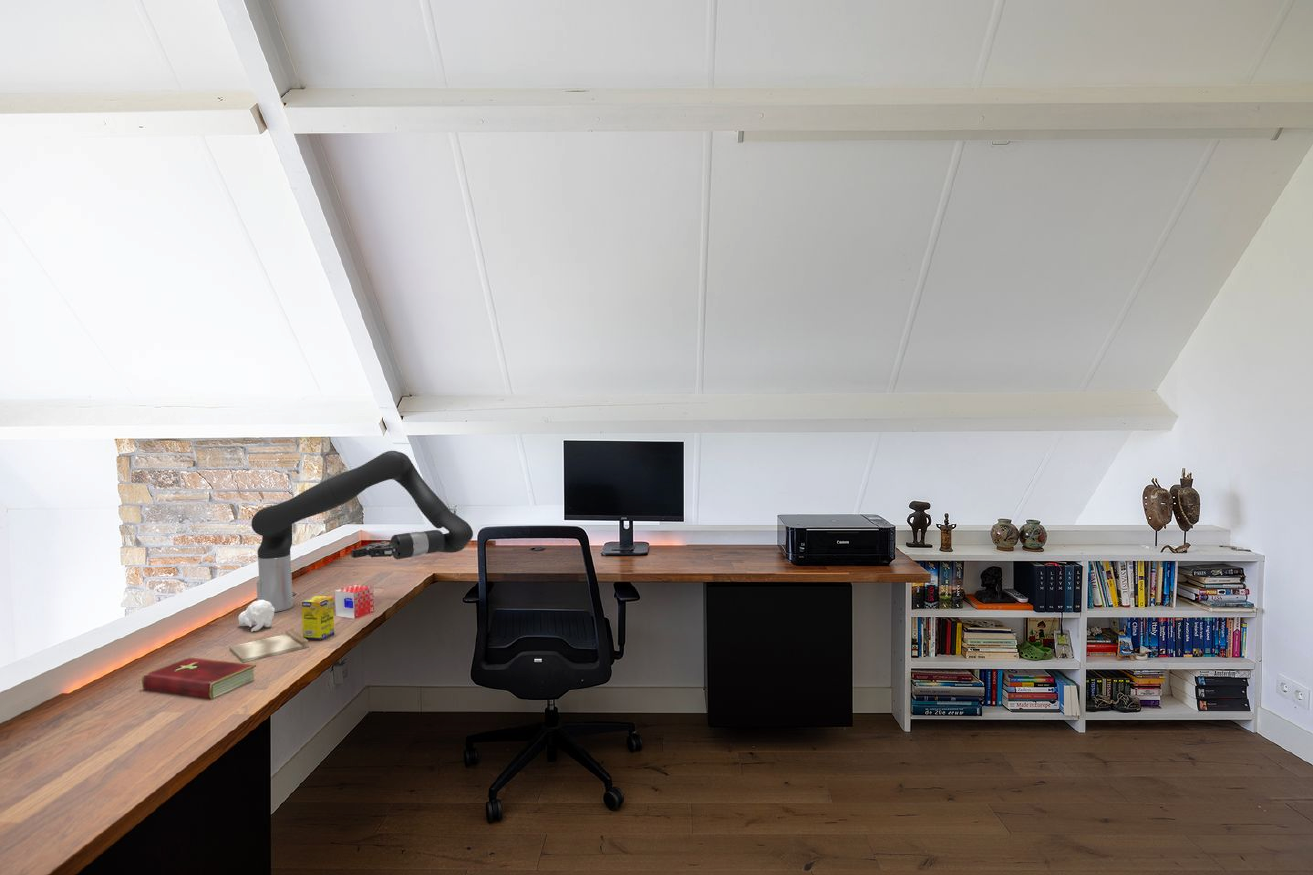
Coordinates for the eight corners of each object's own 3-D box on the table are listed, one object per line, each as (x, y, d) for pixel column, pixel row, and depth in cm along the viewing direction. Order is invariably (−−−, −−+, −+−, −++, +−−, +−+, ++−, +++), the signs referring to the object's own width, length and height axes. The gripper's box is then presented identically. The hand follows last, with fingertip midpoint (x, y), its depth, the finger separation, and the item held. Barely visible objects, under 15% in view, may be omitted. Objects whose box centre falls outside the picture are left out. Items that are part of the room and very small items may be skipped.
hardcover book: (211, 701, 158) (210, 682, 158) (142, 691, 164) (141, 673, 164) (256, 680, 169) (256, 663, 169) (190, 672, 176) (189, 655, 175)
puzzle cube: (374, 611, 224) (373, 586, 223) (354, 618, 217) (353, 593, 216) (356, 608, 227) (355, 584, 227) (335, 615, 220) (334, 590, 220)
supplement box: (321, 641, 196) (319, 602, 195) (302, 640, 197) (300, 601, 197) (335, 634, 202) (333, 596, 201) (316, 633, 203) (315, 595, 202)
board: (243, 662, 180) (243, 655, 180) (229, 649, 191) (229, 642, 190) (308, 647, 191) (308, 640, 191) (292, 635, 201) (292, 629, 201)
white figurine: (255, 603, 203) (229, 602, 209) (258, 632, 203) (232, 631, 209) (275, 597, 209) (249, 597, 214) (278, 626, 209) (252, 625, 215)
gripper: (400, 530, 222) (343, 538, 210) (418, 535, 212) (360, 544, 200) (400, 554, 222) (344, 563, 210) (419, 560, 213) (361, 570, 201)
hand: (352, 554), depth 205 cm, fingers closed
